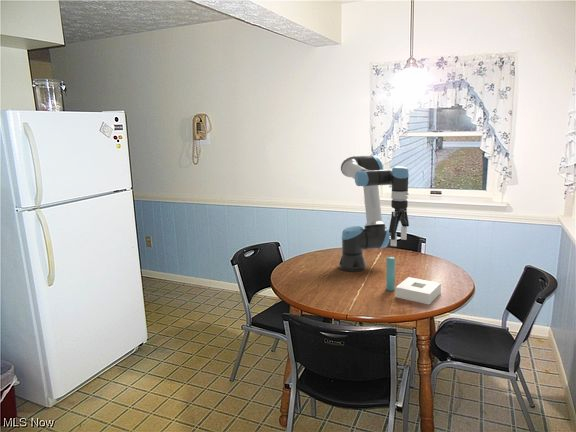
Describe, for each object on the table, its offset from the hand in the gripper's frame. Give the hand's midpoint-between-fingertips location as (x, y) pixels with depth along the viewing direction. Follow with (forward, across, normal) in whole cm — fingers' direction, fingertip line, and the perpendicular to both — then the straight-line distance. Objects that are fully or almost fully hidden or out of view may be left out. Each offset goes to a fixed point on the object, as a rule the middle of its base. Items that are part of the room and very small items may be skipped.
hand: (398, 242), depth 207 cm
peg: (+23, -4, +2) cm, 24 cm away
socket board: (+23, -4, -12) cm, 26 cm away
